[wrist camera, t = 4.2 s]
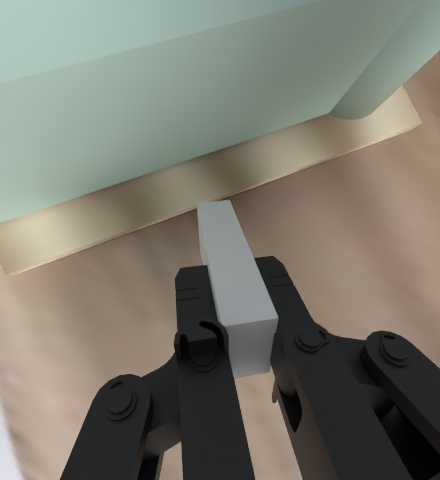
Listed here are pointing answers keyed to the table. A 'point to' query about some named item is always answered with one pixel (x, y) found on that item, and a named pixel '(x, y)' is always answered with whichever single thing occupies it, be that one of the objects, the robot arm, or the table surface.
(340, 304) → the table surface
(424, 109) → the table surface
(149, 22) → the link
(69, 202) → the pintle board
